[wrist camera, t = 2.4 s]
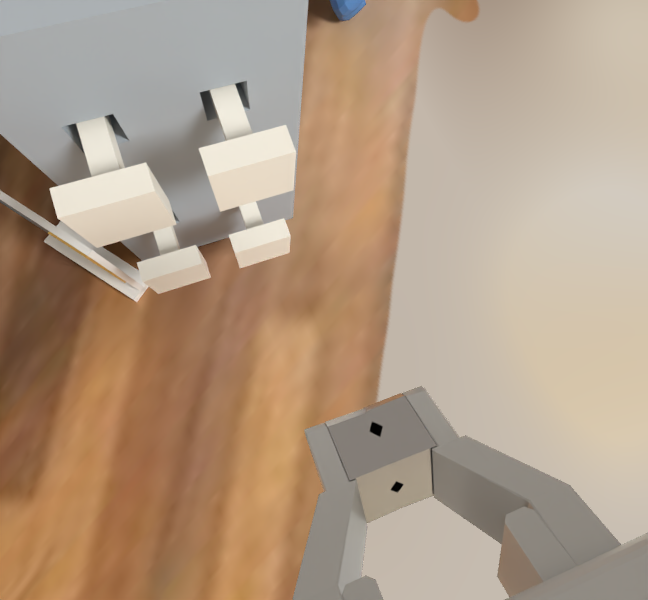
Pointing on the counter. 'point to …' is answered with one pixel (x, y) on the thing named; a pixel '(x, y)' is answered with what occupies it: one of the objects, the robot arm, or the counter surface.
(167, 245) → the button bottom left
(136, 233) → the button top left
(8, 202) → the card
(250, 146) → the button top right
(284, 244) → the button bottom right
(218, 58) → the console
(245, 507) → the counter surface
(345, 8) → the grapes
